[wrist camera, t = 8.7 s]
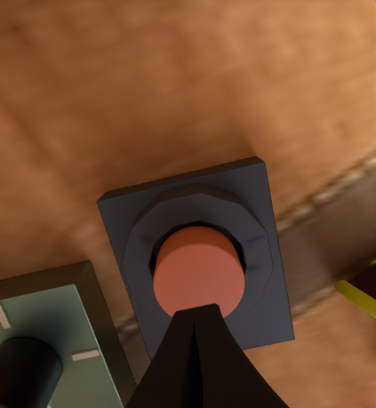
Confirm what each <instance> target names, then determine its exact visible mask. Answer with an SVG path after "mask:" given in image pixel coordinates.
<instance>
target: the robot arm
mask: <svg viewBox="0 0 376 408" xmlns="http://www.w3.org/2000/svg"><path fill="white" fill-rule="evenodd" d="M124 408H289V407H288V406H287V405H286V404H285V402H284V401H283V400H282V399H281V398H280V397H279V396H278V395H277V394H276V392H275V391H274V390H273V389H272V388H271V387H270V386H269V384H268V383H267V382H266V381H265V380H264V378H263V377H262V376H261V375H260V373H259V372H258V371H257V370H256V368H255V367H254V366H253V364H252V363H251V362H250V360H249V359H248V358H247V356H246V355H245V353H244V352H243V351H242V349H241V348H240V346H239V345H238V343H237V341H236V340H235V338H234V337H233V335H232V334H231V332H230V330H229V328H228V326H227V325H226V323H225V321H224V319H223V316H222V314H221V310H220V306H219V305H218V304H216V303H212V304H208V305H203V306H198V307H193V308H189V309H184V310H179V311H176V312H175V313H174V315H173V317H172V319H171V322H170V324H169V326H168V328H167V331H166V333H165V335H164V337H163V339H162V341H161V343H160V346H159V348H158V349H157V351H156V353H155V355H154V357H153V359H152V361H151V363H150V365H149V367H148V369H147V371H146V372H145V374H144V376H143V377H142V379H141V381H140V383H139V384H138V386H137V388H136V389H135V391H134V393H133V395H132V396H131V398H130V399H129V401H128V403H127V404H126V406H125V407H124Z"/></svg>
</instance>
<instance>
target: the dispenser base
mask: <svg viewBox="0 0 376 408" xmlns="http://www.w3.org/2000/svg"><path fill="white" fill-rule="evenodd" d="M97 204H98V207H99V210H100V213H101V216H102V219H103V222H104V225H105V228H106V231H107V233H108V236H109V239H110V242H111V245H112V248H113V251H114V254H115V257H116V260H117V263H118V266H119V269H120V272H121V275H122V278H123V281H124V283H125V286H126V289H127V292H128V295H129V298H130V301H131V304H132V307H133V310H134V313H135V316H136V319H137V322H138V325H139V328H140V331H141V334H142V336H143V339H144V342H145V345H146V348H147V351H148V354H149V357H150V360H151V361H152V359H153V357H154V355H155V353H156V351H157V349H158V348H159V346H160V343H161V341H162V339H163V337H164V335H165V333H166V331H167V328H168V326H169V324H170V322H171V319H172V317H171V316H170V315H169V314H167V313H166V312H165V311H164V310H163V309H162V307H161V306H160V305H159V303H158V301H157V299H156V297H155V294H154V290H153V278H154V273H155V268H156V262H157V257H158V253H159V250H160V248H161V246H162V244H163V243H164V242H165V240H166V239H167V238H168V237H169V236H170V235H172V234H173V233H175V232H176V231H178V230H180V229H183V228H186V227H191V226H205V227H210V228H213V229H215V230H217V231H219V232H221V233H222V234H224V235H225V236H226V237H227V238H228V239H229V240H230V241H231V242H232V244H233V246H234V248H235V250H236V252H237V255H238V258H239V261H240V264H241V267H242V270H243V273H244V277H245V288H244V293H243V296H242V298H241V300H240V302H239V304H238V305H237V307H236V308H235V309H234V310H233V311H232V312H231V313H230V314H228V315H227V316H226V317H224V318H223V319H224V321H225V323H226V325H227V326H228V328H229V330H230V332H231V334H232V335H233V337H234V338H235V340H236V341H237V343H238V345H239V346H240V348H241V349H242V350H245V349H250V348H255V347H260V346H265V345H270V344H275V343H280V342H285V341H290V340H294V339H295V336H294V330H293V324H292V318H291V312H290V306H289V301H288V295H287V289H286V283H285V277H284V271H283V265H282V259H281V254H280V248H279V242H278V236H277V230H276V224H275V218H274V213H273V207H272V201H271V195H270V189H269V183H268V177H267V171H266V166H265V162H264V161H263V160H261V159H260V158H258V157H257V156H255V157H251V158H247V159H243V160H238V161H234V162H230V163H226V164H222V165H217V166H213V167H209V168H205V169H201V170H196V171H192V172H188V173H184V174H180V175H176V176H171V177H167V178H163V179H159V180H155V181H150V182H146V183H142V184H138V185H134V186H130V187H125V188H121V189H117V190H113V191H109V192H105V193H104V194H103V195H102V197H101V198H100V199H99V200H98V201H97Z"/></svg>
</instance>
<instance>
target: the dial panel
mask: <svg viewBox="0 0 376 408" xmlns="http://www.w3.org/2000/svg"><path fill="white" fill-rule="evenodd" d="M18 338H27V339H33V340H36V341H39V342H41V343H43V344H45V345H47V346H48V347H49V348H51V349H52V350H53V351H54V352H55V354H56V355H57V356H58V358H59V360H60V363H61V369H62V372H61V377H60V380H59V382H58V384H57V386H56V388H55V391H54V393H53V395H52V397H51V399H50V401H49V403H48V406H47V408H124V407H125V406H126V404H127V403H128V401H129V399H130V398H131V396H132V395H133V393H134V391H135V389H136V388H137V387H136V385H135V382H134V379H133V377H132V374H131V371H130V368H129V366H128V363H127V360H126V358H125V355H124V352H123V349H122V347H121V344H120V341H119V338H118V336H117V333H116V330H115V328H114V325H113V322H112V319H111V317H110V314H109V311H108V309H107V306H106V303H105V300H104V298H103V295H102V292H101V289H100V287H99V284H98V281H97V279H96V276H95V273H94V270H93V268H92V265H91V262H90V261H84V262H80V263H76V264H71V265H67V266H62V267H58V268H53V269H49V270H45V271H40V272H36V273H31V274H27V275H22V276H18V277H14V278H9V279H5V280H0V345H1V344H3V343H5V342H7V341H9V340H12V339H18Z"/></svg>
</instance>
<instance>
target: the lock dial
mask: <svg viewBox="0 0 376 408" xmlns="http://www.w3.org/2000/svg"><path fill="white" fill-rule="evenodd" d="M61 372H62V369H61V363H60V360H59V358H58V356H57V355H56V354H55V352H54V351H53V350H52V349H51V348H49V347H48V346H47V345H45V344H43V343H41V342H39V341H36V340H33V339H27V338H18V339H12V340H9V341H7V342H5V343H3V344H1V345H0V408H47V406H48V403H49V401H50V399H51V397H52V395H53V393H54V391H55V388H56V386H57V384H58V382H59V380H60V377H61Z"/></svg>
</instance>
